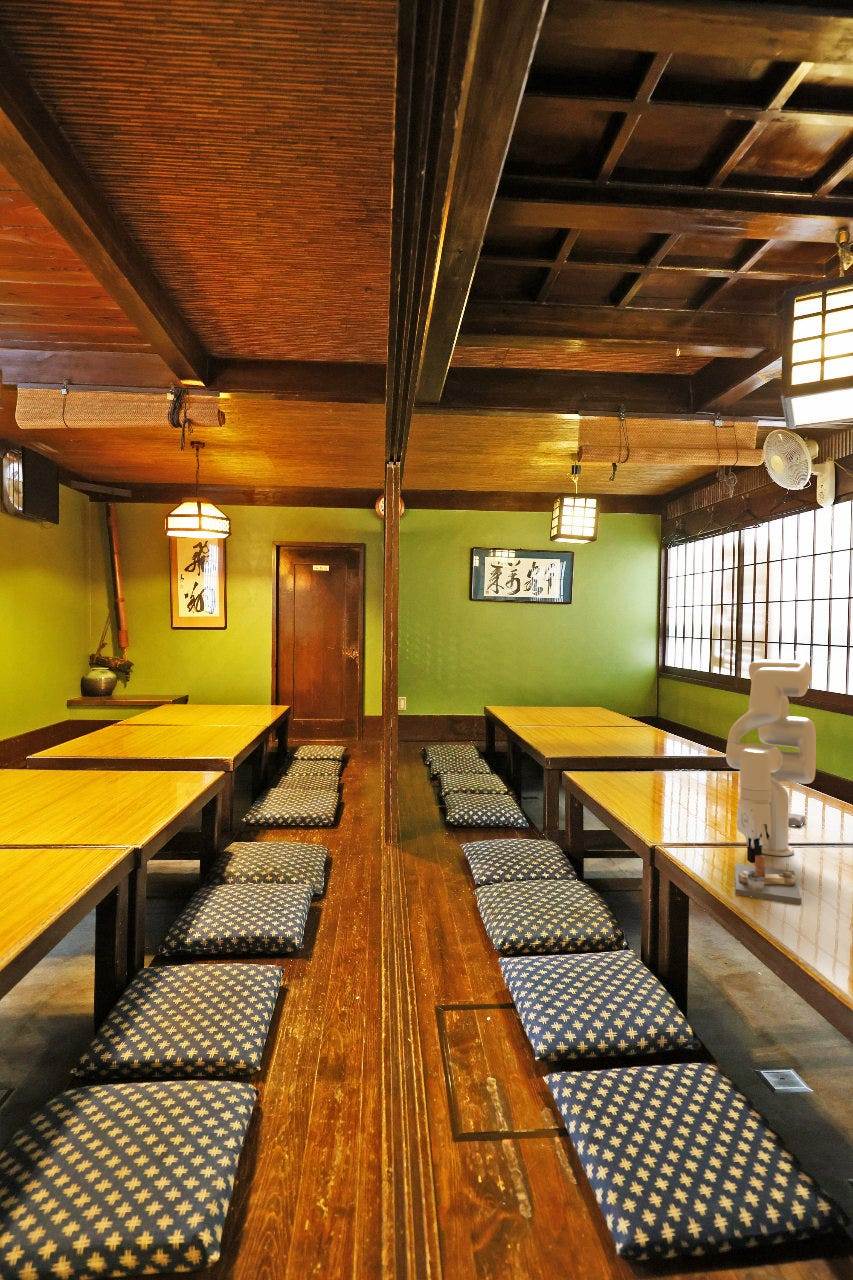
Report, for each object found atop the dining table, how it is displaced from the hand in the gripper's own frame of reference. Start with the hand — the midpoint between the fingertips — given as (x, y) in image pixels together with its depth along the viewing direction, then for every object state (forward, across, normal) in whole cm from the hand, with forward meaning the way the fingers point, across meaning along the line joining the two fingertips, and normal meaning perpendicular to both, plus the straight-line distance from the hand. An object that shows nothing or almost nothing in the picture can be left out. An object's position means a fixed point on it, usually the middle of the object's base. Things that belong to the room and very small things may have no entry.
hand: (754, 861), depth 184 cm
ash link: (+4, +3, +2) cm, 6 cm away
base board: (+6, +1, +2) cm, 7 cm away
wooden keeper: (+4, +6, -4) cm, 9 cm away
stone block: (+7, -61, +44) cm, 75 cm away
